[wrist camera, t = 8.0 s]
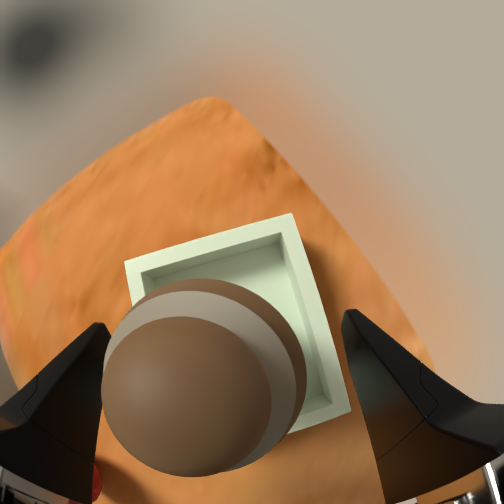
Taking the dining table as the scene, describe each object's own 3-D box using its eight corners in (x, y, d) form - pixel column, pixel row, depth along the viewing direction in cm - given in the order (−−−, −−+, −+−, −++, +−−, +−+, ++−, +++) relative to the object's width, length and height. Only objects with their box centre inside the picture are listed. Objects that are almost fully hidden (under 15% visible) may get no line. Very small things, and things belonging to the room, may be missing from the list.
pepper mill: (270, 377, 17) (322, 544, 2) (198, 372, 17) (51, 491, 2) (274, 306, 18) (357, 250, 3) (201, 303, 18) (38, 237, 3)
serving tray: (335, 396, 17) (351, 411, 14) (191, 434, 16) (180, 454, 13) (285, 230, 20) (291, 212, 17) (144, 270, 19) (124, 261, 16)
